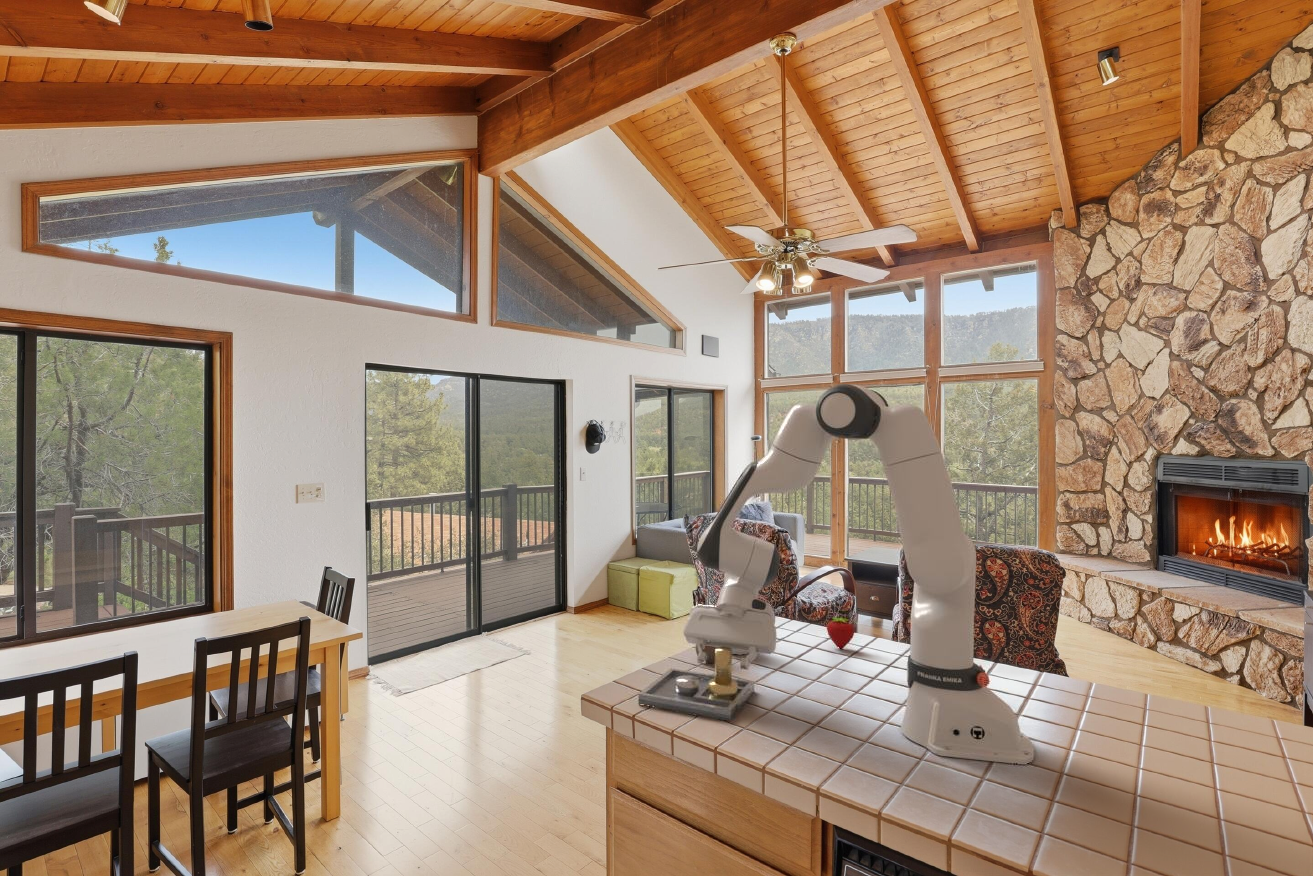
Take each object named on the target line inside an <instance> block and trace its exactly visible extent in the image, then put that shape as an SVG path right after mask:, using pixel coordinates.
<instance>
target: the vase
mask: <svg viewBox="0 0 1313 876" xmlns="http://www.w3.org/2000/svg"><path fill="white" fill-rule="evenodd" d="M715 648H716V647H714V646H707V645H705V648H704V649H702V651H703V652H705V653H706V655H707V659H706V663H705V664H715ZM695 652H696V653H695V654H696V655H697V656H696V657H698V654H699V651H698V648H697V644H695Z"/></svg>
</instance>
